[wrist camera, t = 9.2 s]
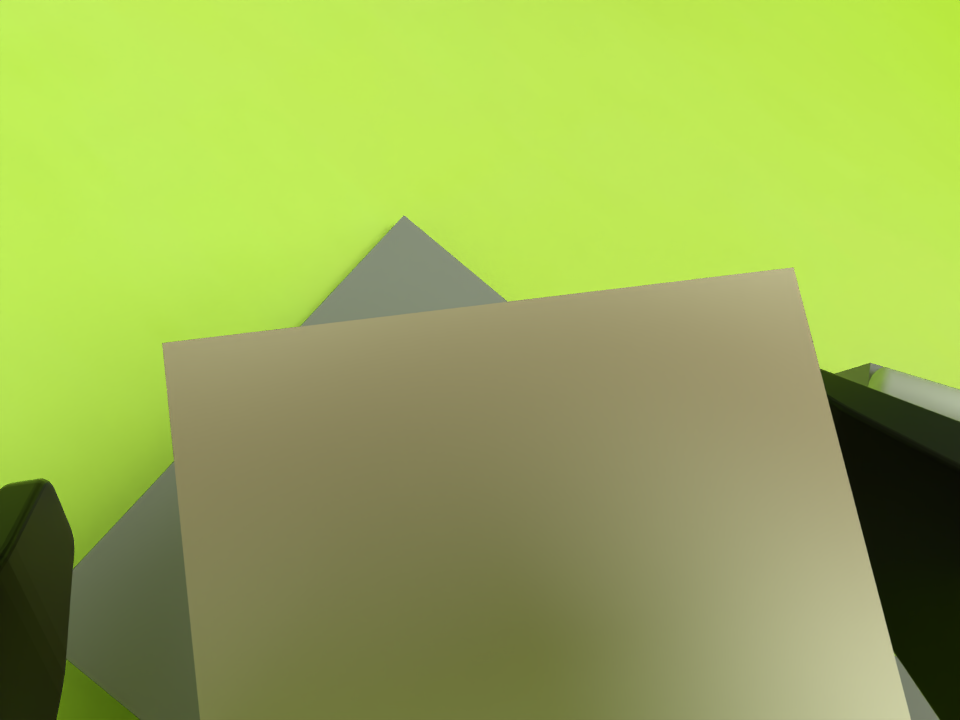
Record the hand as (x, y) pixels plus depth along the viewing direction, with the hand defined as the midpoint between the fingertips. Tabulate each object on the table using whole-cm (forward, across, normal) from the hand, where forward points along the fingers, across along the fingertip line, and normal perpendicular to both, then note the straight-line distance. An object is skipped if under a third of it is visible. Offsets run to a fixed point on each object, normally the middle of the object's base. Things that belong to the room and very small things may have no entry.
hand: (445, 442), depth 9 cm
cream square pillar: (+5, 0, +7) cm, 8 cm away
